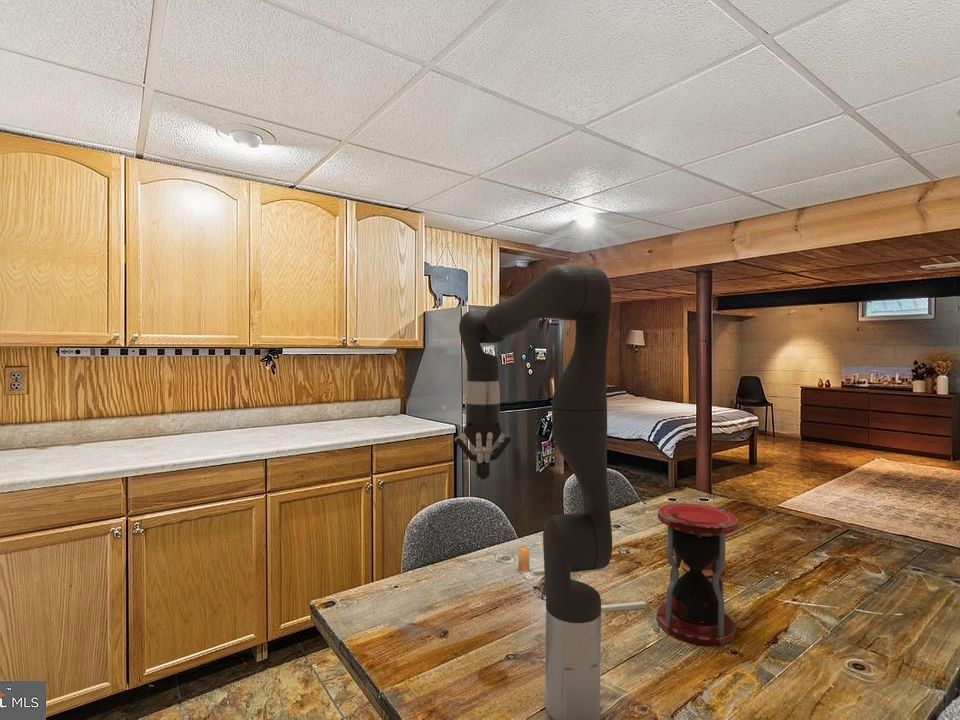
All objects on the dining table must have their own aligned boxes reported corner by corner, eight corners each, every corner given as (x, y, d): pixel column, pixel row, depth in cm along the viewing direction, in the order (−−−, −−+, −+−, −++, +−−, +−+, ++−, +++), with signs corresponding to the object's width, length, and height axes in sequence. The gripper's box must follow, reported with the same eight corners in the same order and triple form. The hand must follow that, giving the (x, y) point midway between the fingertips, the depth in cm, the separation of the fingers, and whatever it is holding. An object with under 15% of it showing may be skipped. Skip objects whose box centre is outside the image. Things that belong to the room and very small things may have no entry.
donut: (683, 576, 138) (683, 561, 138) (679, 561, 148) (679, 547, 148) (724, 580, 136) (724, 566, 136) (717, 565, 145) (717, 551, 145)
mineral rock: (532, 572, 135) (561, 564, 135) (536, 588, 135) (565, 579, 136) (540, 594, 124) (571, 584, 125) (544, 610, 125) (576, 600, 125)
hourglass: (641, 614, 118) (642, 506, 118) (696, 602, 124) (698, 499, 123) (693, 653, 103) (695, 530, 103) (753, 638, 109) (755, 521, 108)
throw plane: (654, 616, 117) (654, 590, 117) (551, 626, 113) (551, 599, 113) (600, 561, 147) (600, 541, 147) (517, 568, 142) (517, 546, 142)
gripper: (455, 403, 110) (455, 484, 110) (515, 402, 112) (515, 481, 112) (451, 400, 117) (451, 476, 117) (508, 399, 119) (507, 473, 119)
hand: (482, 478), depth 115 cm, fingers closed
